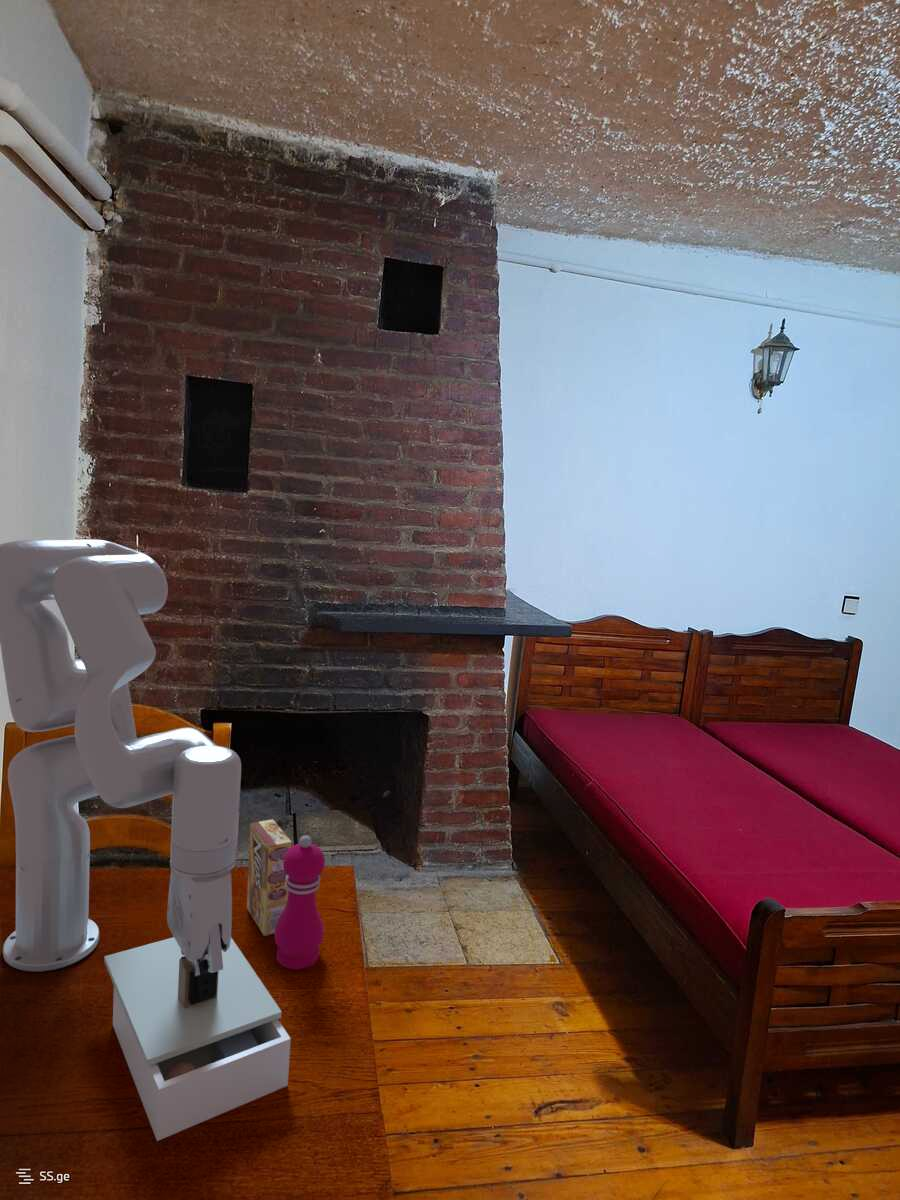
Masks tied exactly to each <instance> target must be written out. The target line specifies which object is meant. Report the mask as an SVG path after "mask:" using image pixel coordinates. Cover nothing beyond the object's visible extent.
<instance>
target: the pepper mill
mask: <svg viewBox="0 0 900 1200" xmlns="http://www.w3.org/2000/svg"><path fill="white" fill-rule="evenodd" d="M312 841H313V840H312V838H311V837H310V835H303V836H301V837H300V838H299V843H296V844H294V845H292V847H291V848H290V849H289V850H288V851H287V852H286V855H285V857H284V861H283V868H284V871H285V873H286V874H287V876H286V883H285V886H286V888H287V890H288V900H287V904H286V906H285V908H284V910H283V912H282V914H281V916H280V918H279V920H278V923H277V925H276V929H275V933H274V934H273V935H274V937H273V938H274V942H275V944H276V945H277V949H276V957H275V958H276V960H277V962H278V964H280V965H281V966H283V967H284V968H287V969H292V970H300V969H306V968H309V967H312V966H313V965H314V964H316V962H318V960H319V956H320V947H319V946H320V945H321V944H322V942H323V939H324V923H323V920H322V918H321V915H320V913H319V911H318V909H317V904H316V895H317V894H316V893H317V890H318V889H319V888H320V885H321V882H320V881H321V876H320V875H321V874H322V873H323V870H324V869H325V863H326V862H325V855H324V853H323V851H322V849H321V848H320V847H318V846H317V845H316V844H315V843H312Z"/></svg>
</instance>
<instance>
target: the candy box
mask: <svg viewBox="0 0 900 1200" xmlns="http://www.w3.org/2000/svg"><path fill="white" fill-rule="evenodd" d="M248 845H249V849H248V853H249V854H248V872H247V874H248V875H247V897H246V909H247V910H248V912H249V914H250V916H251V917H252V919H253V921H254V922H255V924H256V925H257V927H258V929H259V930H260V932H261V933H262V935H263V936H264V937H266V936H270V935H275V929H276V925H277V923H278V920H279V918H280V916H281V914H282V912H283V910H284V908H285V906H286V904H287V900H288V890H287V888H286V886H285V883H286V876H287V874H286V873H285V871H284V868H283V861H284V857H285V855H286V852H287V851H288V850H289V849H290V848H291V847H292V846H293V841H292V840H291V839H290V838H289V836H287V834H286V833H285V832H284V830H283V829H282V828H281V827H280V826H279V824H278V823H277V822H276V821H275V820H274V819H267V820H262V821H257V822H256V821H255V822H250V824H249V844H248Z"/></svg>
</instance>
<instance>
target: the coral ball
mask: <svg viewBox="0 0 900 1200" xmlns="http://www.w3.org/2000/svg"><path fill="white" fill-rule="evenodd" d="M193 1070H196V1068H195V1066H194V1065H193V1064H191V1063H190V1062H186V1061H182V1062H178V1063H176V1064H174V1065H173V1066H172V1067H171V1068H170V1069H169V1070H168V1072H167V1074H166V1077H165V1081H167V1080H169V1079H172V1078H175V1077H177V1076H180V1075H182V1074H185V1073H188V1072H190V1071H193Z"/></svg>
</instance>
